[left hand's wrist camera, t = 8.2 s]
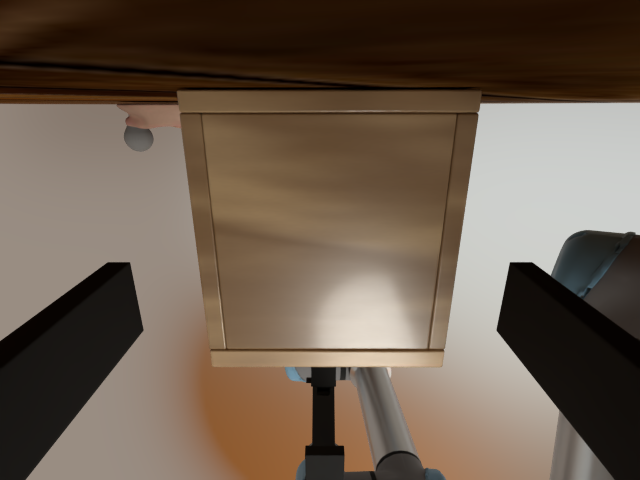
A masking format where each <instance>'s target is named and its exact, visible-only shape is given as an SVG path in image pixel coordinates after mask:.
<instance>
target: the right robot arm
mask: <svg viewBox="0 0 640 480" xmlns="http://www.w3.org/2000/svg"><path fill="white" fill-rule="evenodd" d="M285 370H286V374H287V376H288V378H289V379H290V380H293V381H303V382H306V383H311V386H313V428H312V443H311V444H310V445H309V446H306V448H305V460H303V461H302V463H301V464H300V465H299V467H298V469H297V473H296V480H446V479H445V477H444V476H443V474H441V472H440V471H438V470H436V469H428V468H426V469H424V468H423V466H422V464H421V461H420V459H419V456H418V453H417V451H416V448H415V445H414V442H413V440H412V437H411V434H410V432H409V429H408V426H407V423H406V421H405V418H404V415H403V413H402V410H401V407H400V404H399V402H398V399H397V396H396V393H395V391H394V388H393V385H392V383H391V380H390V377H391V367H285ZM336 380H351V381H352V383H353V385H354V386H355V387H356V388H357V391H358V396H359V400H360V405H361V409H362V414H363V419H364V423H365V428H366V433H367V437H368V442H369V446H370V451H371V456H372V460H373V465H374V470H375V471H363V472H344V446H338V445H337V444H335V422H334V421H335V419H334V387H335V386H336Z"/></svg>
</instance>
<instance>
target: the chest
mask: <svg viewBox="0 0 640 480" xmlns="http://www.w3.org/2000/svg"><path fill="white" fill-rule="evenodd" d="M481 95H482V90H480V89H212V90H177V97H178V105H179V111H180V112H181V113H180V122H181V130H182V138H183V146H184V153H185V161H186V169H187V177H188V184H189V192H190V200H191V208H192V215H193V223H194V231H195V239H196V247H197V254H198V262H199V270H200V278H201V285H202V293H203V301H204V309H205V316H206V324H207V332H208V340H209V347H210V349H226V347H227V348H228V349H428V348H429V349H444V348H445V344H446V337H447V330H448V323H449V316H450V309H451V302H452V295H453V288H454V281H455V274H456V267H457V261H458V254H459V247H460V240H461V233H462V226H463V219H464V212H465V205H466V198H467V191H468V184H469V178H470V171H471V164H472V157H473V150H474V143H475V136H476V129H477V122H478V113H477V112H479V109H480V102H481Z"/></svg>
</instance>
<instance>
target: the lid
mask: <svg viewBox="0 0 640 480" xmlns="http://www.w3.org/2000/svg"><path fill="white" fill-rule="evenodd" d="M210 353H211V361H212V366H213V367H442V364H443V357H444V349H429V348H428V349H228V348H227V347H226V349H211V350H210Z"/></svg>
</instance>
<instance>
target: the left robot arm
mask: <svg viewBox="0 0 640 480" xmlns="http://www.w3.org/2000/svg"><path fill="white" fill-rule="evenodd" d="M142 332H143V325H142V320H141V315H140V310H139V305H138V300H137V295H136V290H135V285H134V280H133V275H132V270H131V265H130V262H108V263H106V264H105V265H104V266H102V267H101V268H99V269H98V270H97V271H95V272H94V273H93V274H91V275H90V276H89V277H87V278H86V279H84V280H83V281H82V282H80V283H79V284H78V285H76V286H75V287H74V288H72V289H71V290H69V291H68V292H67V293H65V294H64V295H63V296H61V297H60V298H59V299H57V300H56V301H54V302H53V303H52V304H50V305H49V306H48V307H46V308H45V309H43V310H42V311H41V312H39V313H38V314H37V315H35V316H34V317H33V318H31V319H30V320H28V321H27V322H26V323H24V324H23V325H22V326H20V327H19V328H18V329H16V330H15V331H13V332H12V333H11V334H9V335H8V336H7V337H5V338H4V339H3V340H1V341H0V480H26V478H27V477H28V476H29V475H30V473H31V472H32V471H33V470H34V468H35V467H36V466H37V465H38V463H39V462H40V461H41V459H42V458H43V457H44V456H45V454H46V453H47V452H48V451H49V449H50V448H51V447H52V446H53V444H54V443H55V442H56V440H57V439H58V438H59V437H60V435H61V434H62V433H63V432H64V430H65V429H66V428H67V427H68V425H69V424H70V423H71V421H72V420H73V419H74V418H75V416H76V415H77V414H78V413H79V411H80V410H81V409H82V408H83V406H84V405H85V404H86V403H87V401H88V400H89V399H90V397H91V396H92V395H93V394H94V392H95V391H96V390H97V389H98V387H99V386H100V385H101V383H102V382H103V381H104V380H105V378H106V377H107V376H108V375H109V373H110V372H111V371H112V370H113V368H114V367H115V366H116V365H117V363H118V362H119V361H120V359H121V358H122V357H123V356H124V354H125V353H126V352H127V351H128V349H129V348H130V347H131V345H132V344H133V343H134V342H135V341H136V339H137V338H138V337H139V335H140V334H141V333H142ZM497 332H498V333H499V334H500V335H501V337H502V338H503V339H504V341H505V342H506V343H507V344H508V345H509V347H510V348H511V349H512V351H513V352H514V353H515V354H516V356H517V357H518V358H519V359H520V361H521V362H522V363H523V365H524V366H525V367H526V368H527V370H528V371H529V372H530V373H531V375H532V376H533V377H534V378H535V380H536V381H537V382H538V383H539V385H540V386H541V387H542V389H543V390H544V391H545V392H546V394H547V395H548V396H549V397H550V399H551V400H552V401H553V403H554V404H555V405H556V406H557V408H558V409H559V410H560V411H559V418H558V425H557V432H556V439H555V446H554V453H553V460H552V467H551V474H550V480H640V235H635V233H634V232H627V233H625V234H623V233H612V232H602V231H592V230H584V231H580V232H577V233H574V234H573V235H571V236H570V237H569V238H568V239H567V240H566V241H565V243H564V245H563V247H562V249H561V251H560V253H559V256H558V258H557V261H556V264H555V266H554V269H553V271H552V274H551V276H550V275H549V274H547V273H546V272H545V271H543V270H542V269H541V268H539V267H538V266H536V265H535V264H534V263H532V262H510V265H509V270H508V275H507V280H506V285H505V290H504V295H503V300H502V305H501V310H500V315H499V320H498V325H497Z"/></svg>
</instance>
